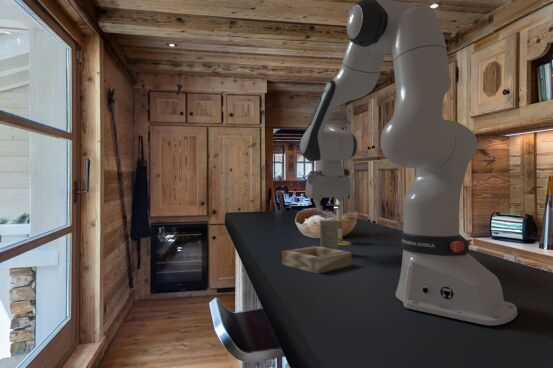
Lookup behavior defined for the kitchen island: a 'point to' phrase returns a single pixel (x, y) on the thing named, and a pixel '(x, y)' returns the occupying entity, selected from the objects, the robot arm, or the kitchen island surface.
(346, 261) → the wooden tray
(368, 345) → the kitchen island surface
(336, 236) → the skincare box
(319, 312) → the kitchen island surface
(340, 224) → the candle
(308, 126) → the robot arm
